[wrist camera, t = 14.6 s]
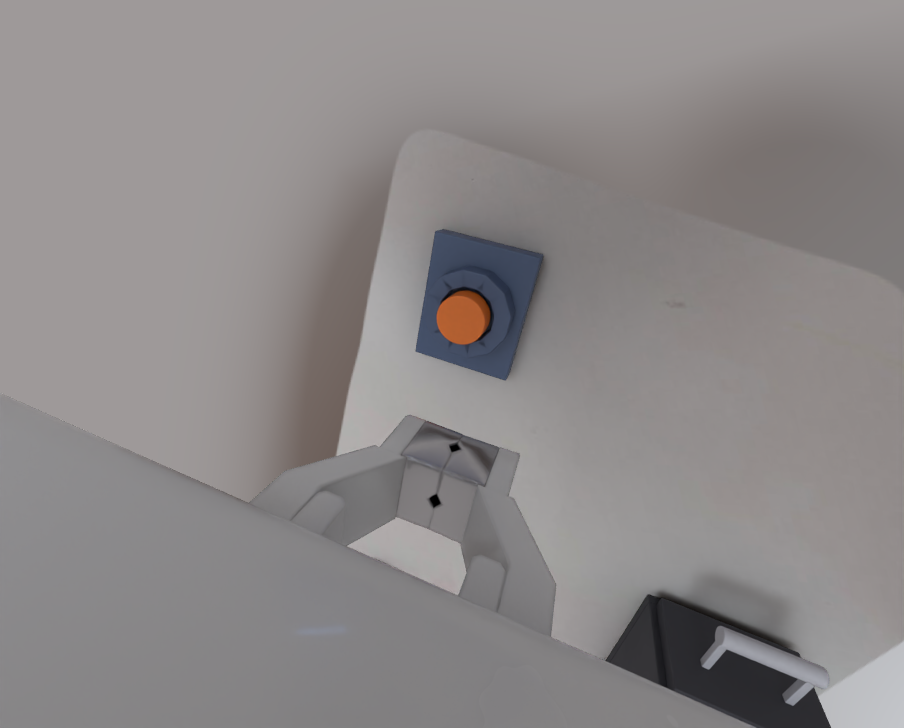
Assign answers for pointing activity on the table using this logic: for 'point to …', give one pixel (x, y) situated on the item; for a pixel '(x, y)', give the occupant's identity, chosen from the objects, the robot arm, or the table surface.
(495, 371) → the control block
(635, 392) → the table surface
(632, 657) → the black box
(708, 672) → the drawer
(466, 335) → the button
